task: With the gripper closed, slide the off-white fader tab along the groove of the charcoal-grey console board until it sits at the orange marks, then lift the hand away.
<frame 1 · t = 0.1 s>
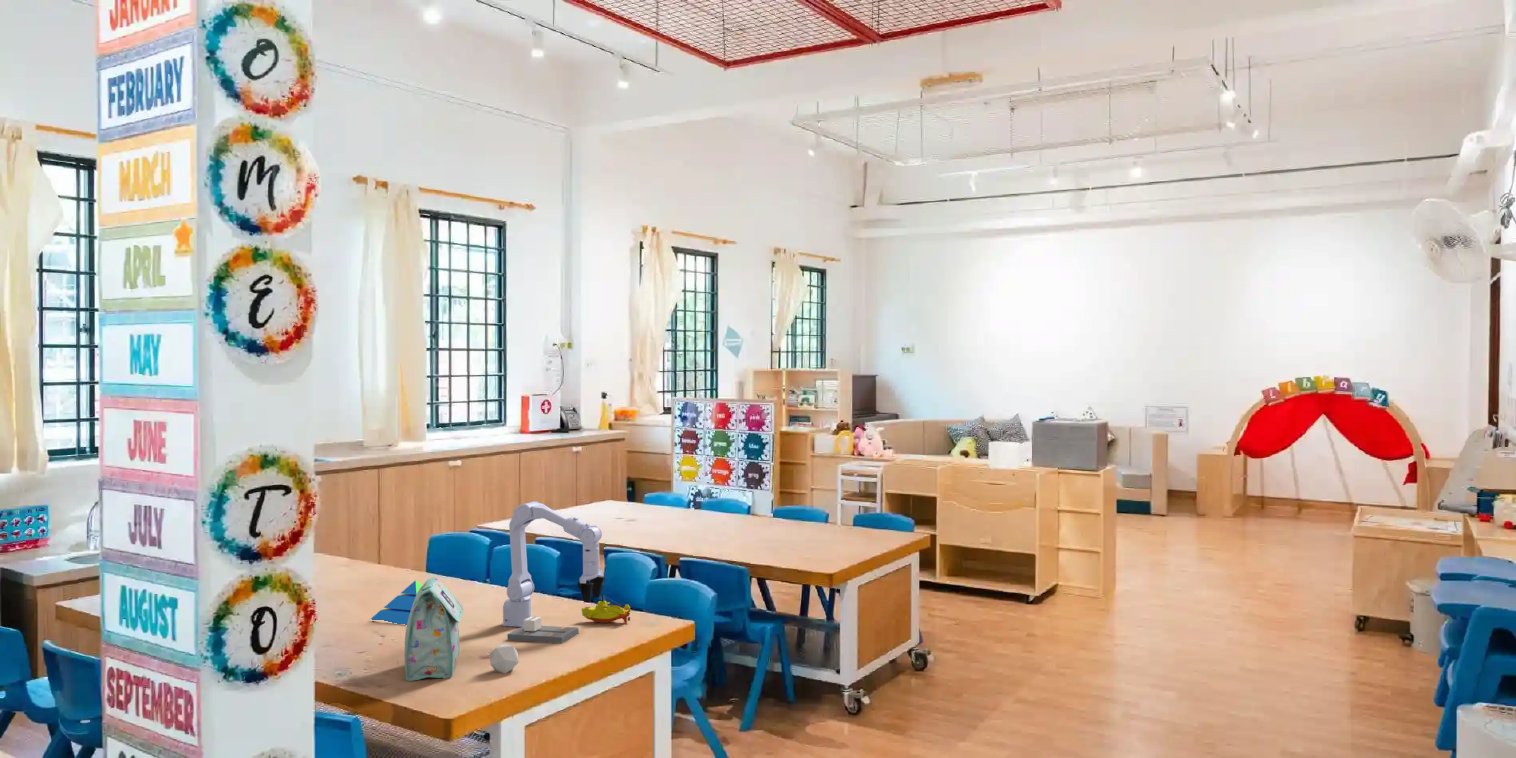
hand: (591, 599, 349), 10 cm above the table, tool pointing down, fingers open, 7 cm apart
die: (504, 671, 299), on the table
lunch bag: (434, 670, 301), on the table
pyramid toy: (416, 618, 370), on the table
toy boat: (606, 623, 357), on the table
fader tab: (532, 623, 339), point 4 cm above the table, slide at 0.0 cm
console board: (543, 636, 338), on the table
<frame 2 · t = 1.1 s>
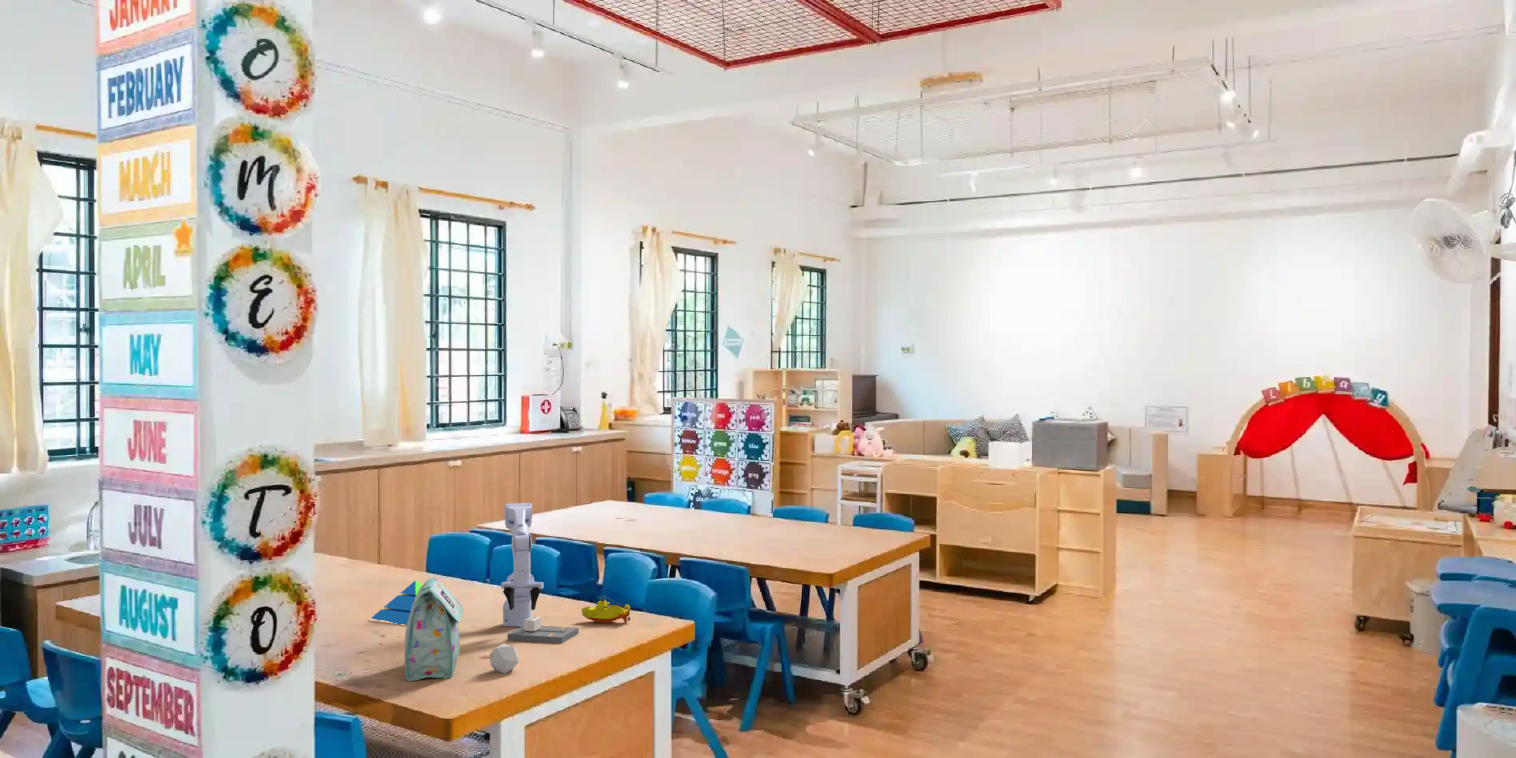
hand: (522, 609, 342), 9 cm above the table, tool pointing down, fingers open, 7 cm apart
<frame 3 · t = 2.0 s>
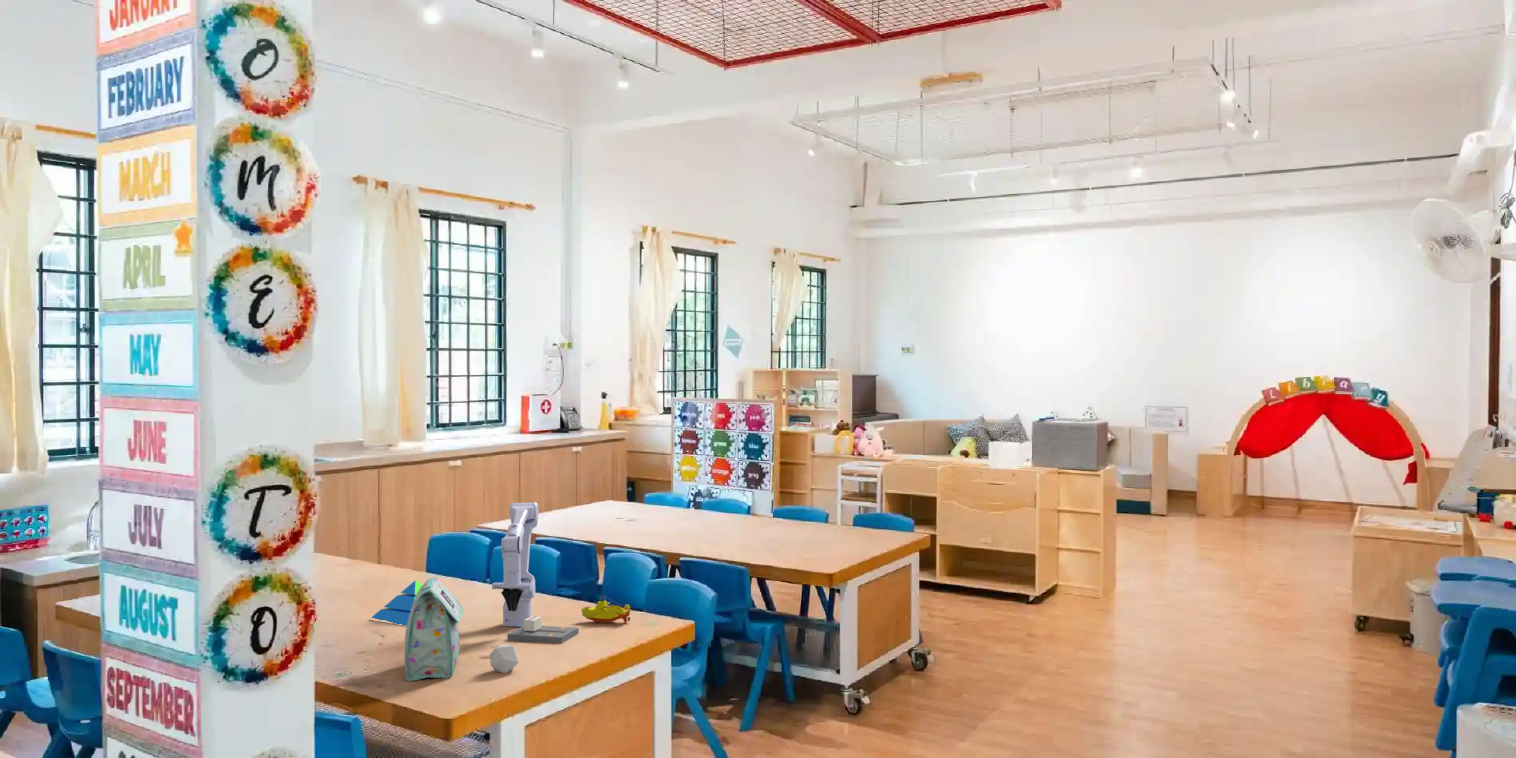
hand: (512, 610, 341), 8 cm above the table, tool pointing down, fingers closed
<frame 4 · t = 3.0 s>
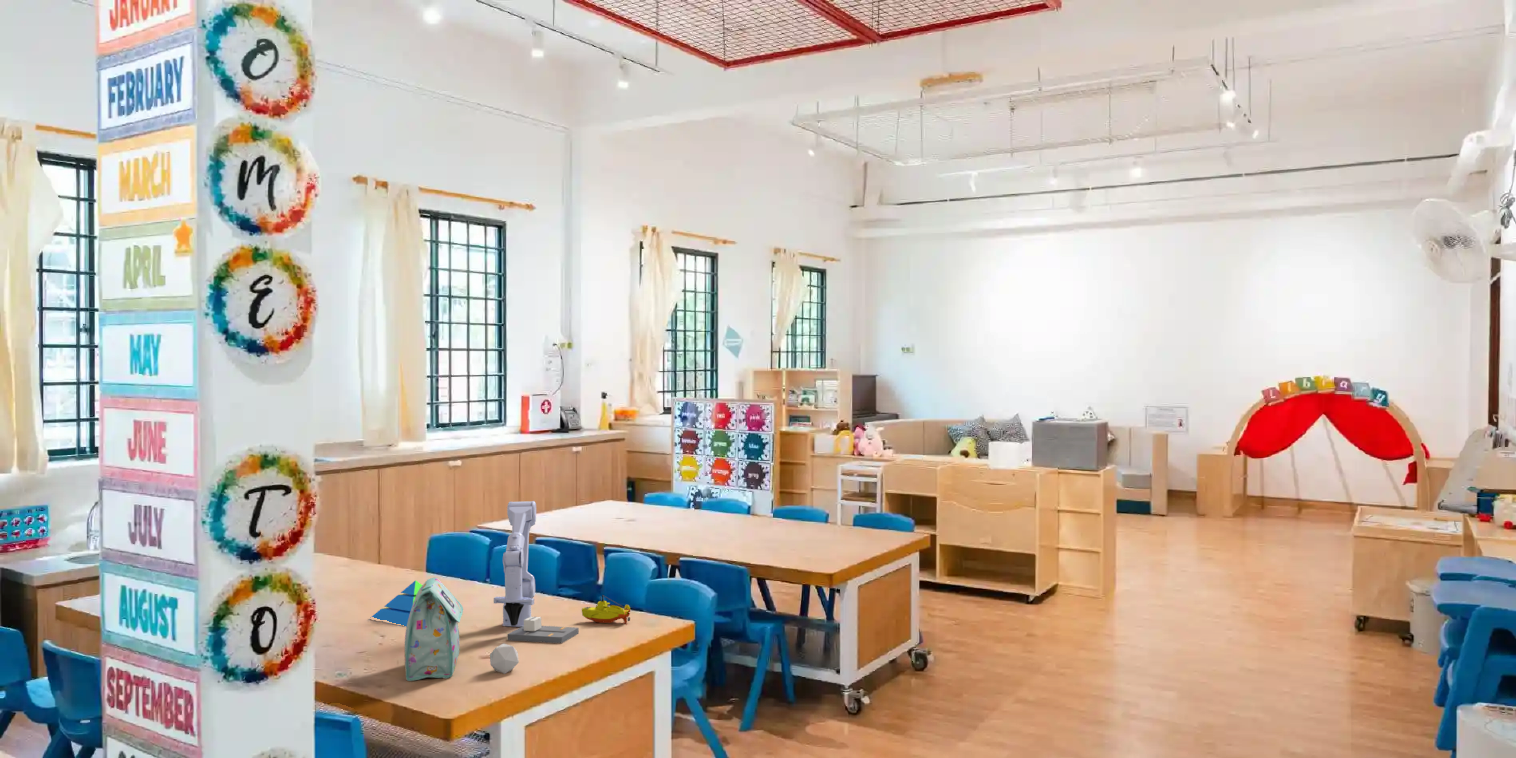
hand: (514, 624, 341), 4 cm above the table, tool pointing down, fingers closed
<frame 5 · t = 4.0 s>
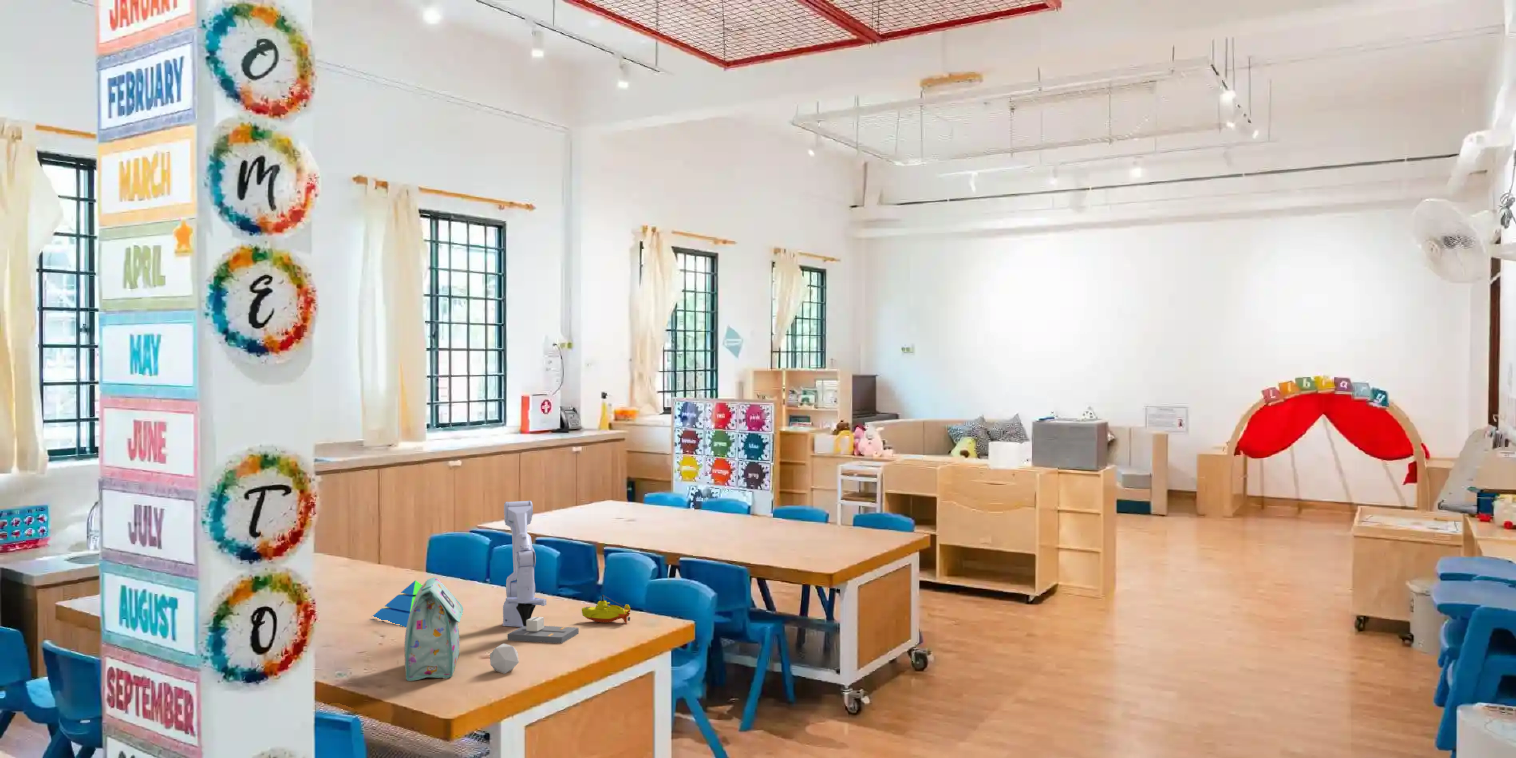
hand: (526, 625, 340), 4 cm above the table, tool pointing down, fingers closed
fader tab: (535, 623, 339), point 4 cm above the table, slide at 1.0 cm, touching gripper
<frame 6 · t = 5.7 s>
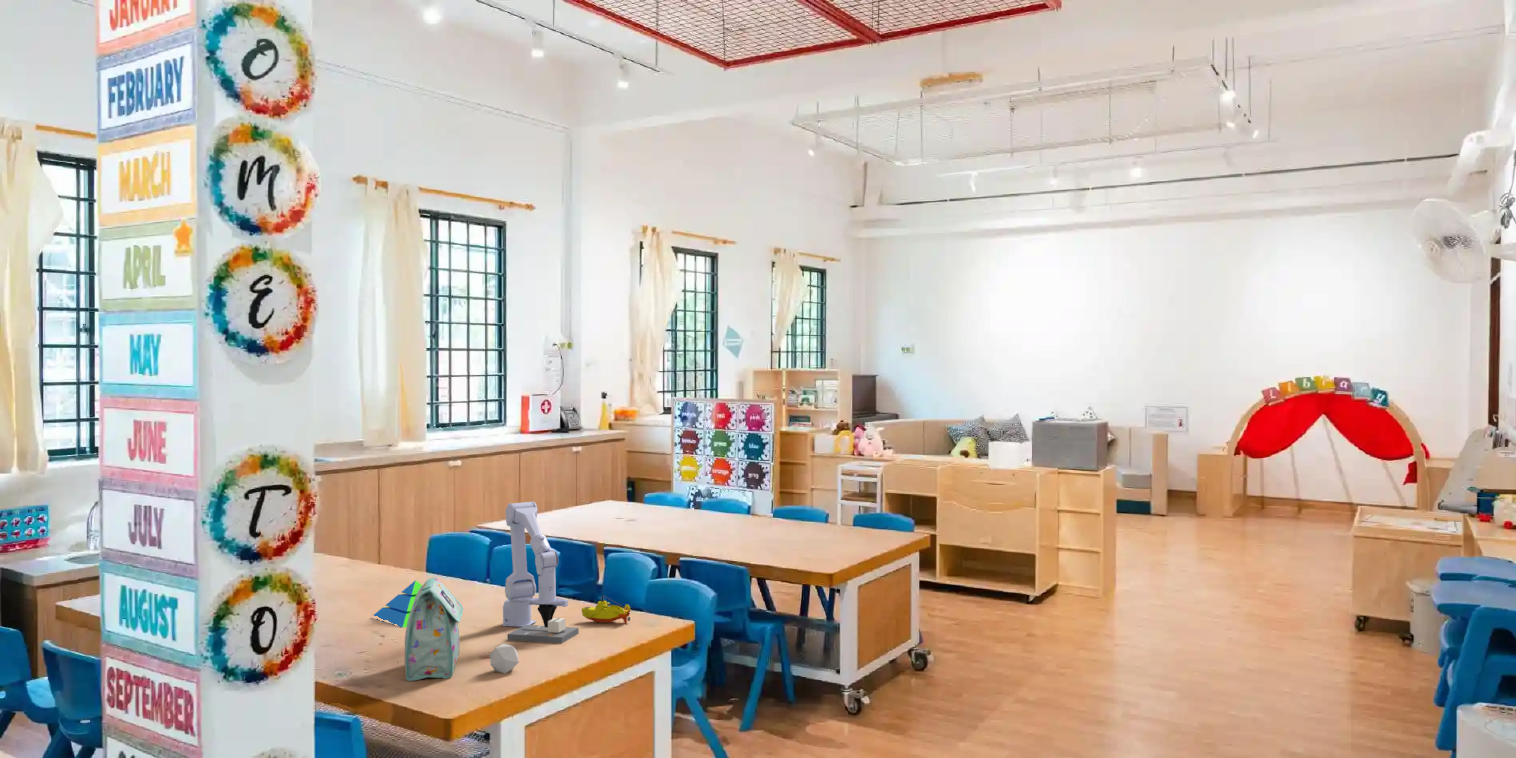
hand: (547, 626, 338), 4 cm above the table, tool pointing down, fingers closed
fader tab: (556, 625, 337), point 4 cm above the table, slide at 9.0 cm, touching gripper
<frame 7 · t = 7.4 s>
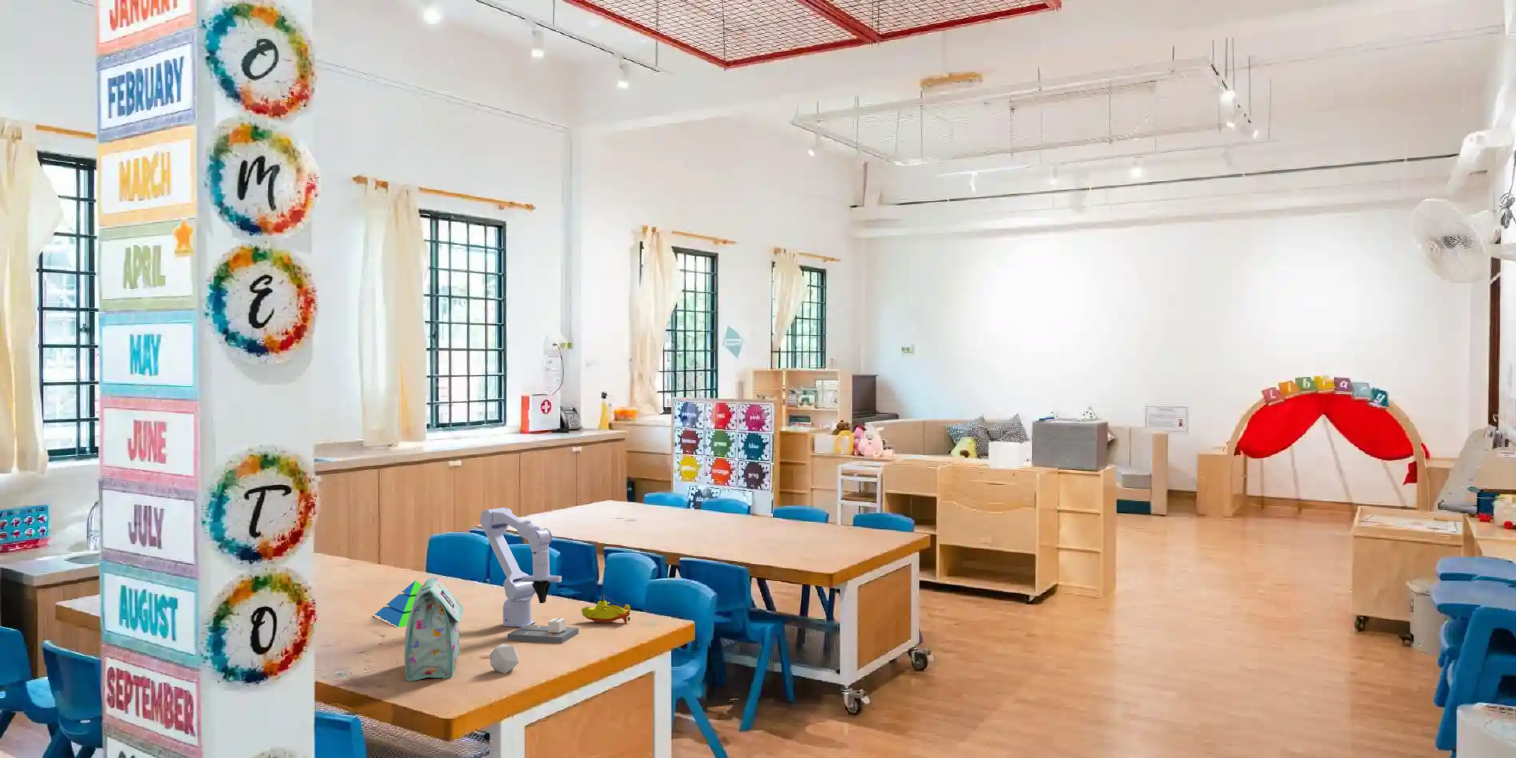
hand: (542, 602, 349), 9 cm above the table, tool pointing down, fingers closed
fader tab: (557, 625, 337), point 4 cm above the table, slide at 9.2 cm
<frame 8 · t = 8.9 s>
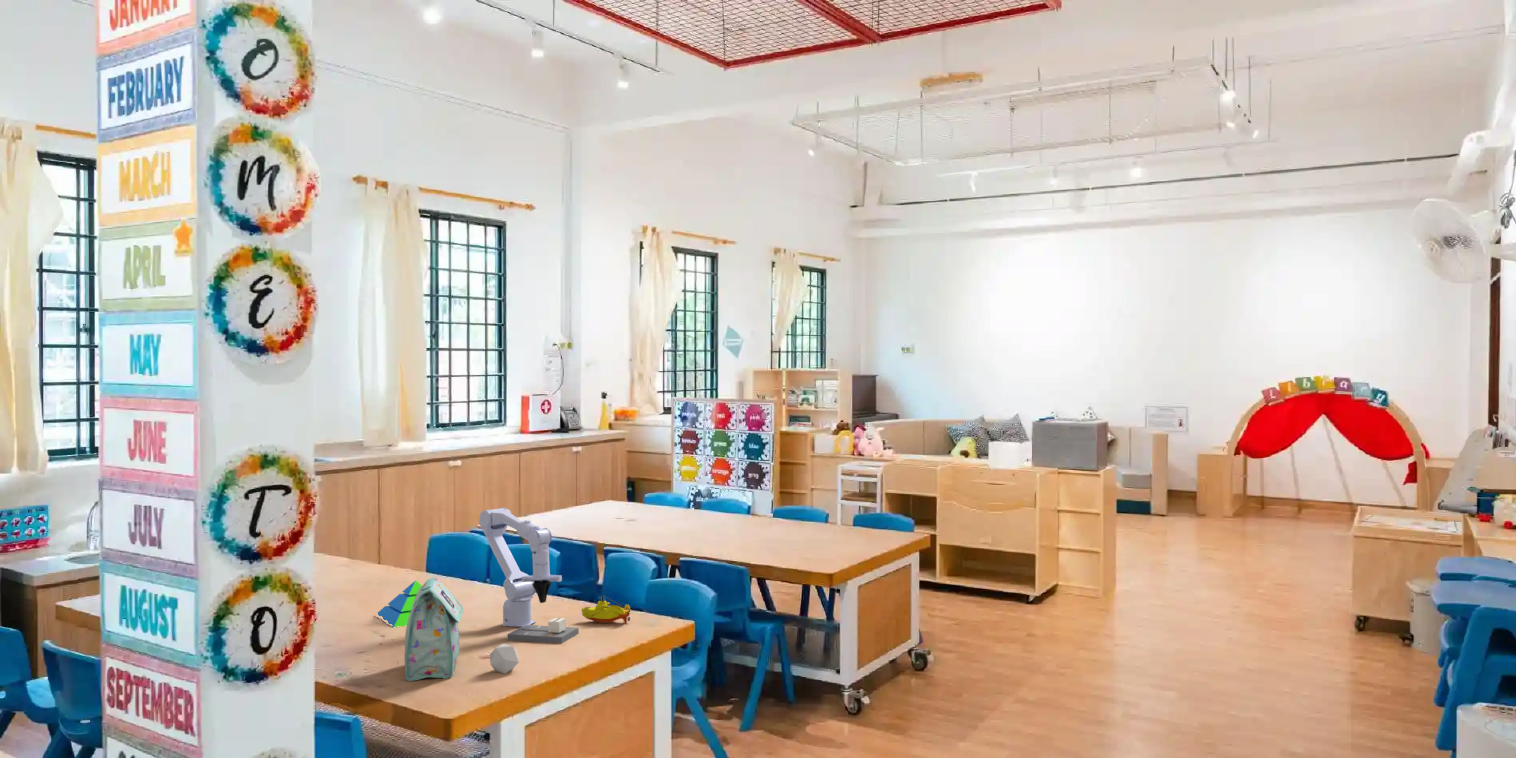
hand: (542, 602, 349), 9 cm above the table, tool pointing down, fingers closed
at the end: fader tab slide at 9.2 cm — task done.
